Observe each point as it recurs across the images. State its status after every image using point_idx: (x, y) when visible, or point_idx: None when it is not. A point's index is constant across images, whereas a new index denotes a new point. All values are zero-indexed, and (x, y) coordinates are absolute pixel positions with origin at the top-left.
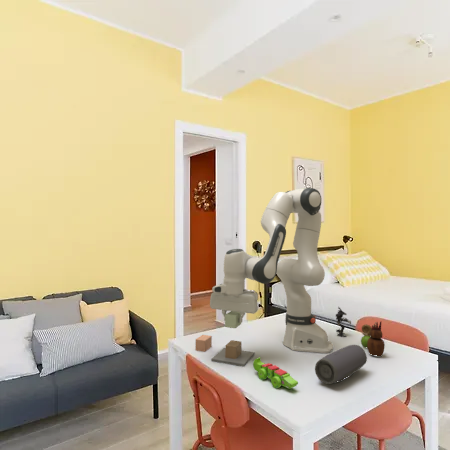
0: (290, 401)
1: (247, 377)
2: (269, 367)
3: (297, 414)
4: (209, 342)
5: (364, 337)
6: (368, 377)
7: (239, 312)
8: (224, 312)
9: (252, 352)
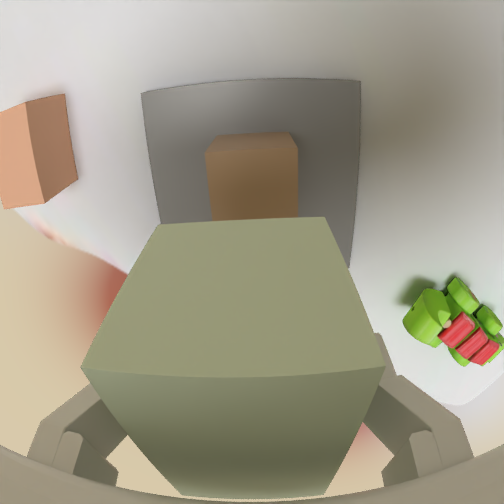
0: (470, 370)
1: (375, 330)
2: (460, 353)
3: (468, 392)
4: (48, 127)
5: None
6: None
7: (340, 399)
8: (111, 470)
9: (350, 92)
